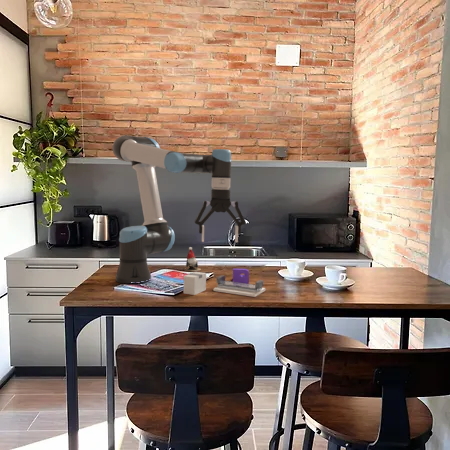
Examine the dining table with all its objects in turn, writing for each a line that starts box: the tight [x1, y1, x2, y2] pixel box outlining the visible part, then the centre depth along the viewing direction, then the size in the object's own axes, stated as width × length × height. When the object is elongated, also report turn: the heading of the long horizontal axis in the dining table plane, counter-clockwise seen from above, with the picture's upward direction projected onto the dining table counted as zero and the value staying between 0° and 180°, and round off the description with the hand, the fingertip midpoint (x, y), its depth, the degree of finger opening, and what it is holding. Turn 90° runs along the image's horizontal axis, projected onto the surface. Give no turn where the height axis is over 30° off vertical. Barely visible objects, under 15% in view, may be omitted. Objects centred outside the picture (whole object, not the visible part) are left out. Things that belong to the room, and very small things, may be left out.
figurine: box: [185, 246, 202, 272], centre depth 211 cm, size 8×10×12 cm
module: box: [183, 271, 207, 296], centre depth 170 cm, size 5×9×7 cm, turn 154°
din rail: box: [216, 274, 264, 293], centre depth 172 cm, size 19×6×4 cm, turn 63°
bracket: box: [232, 268, 250, 284], centre depth 188 cm, size 12×7×7 cm, turn 177°
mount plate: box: [213, 286, 266, 298], centre depth 172 cm, size 18×11×1 cm, turn 63°
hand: (219, 241), depth 172 cm, fingers open, 13 cm apart
